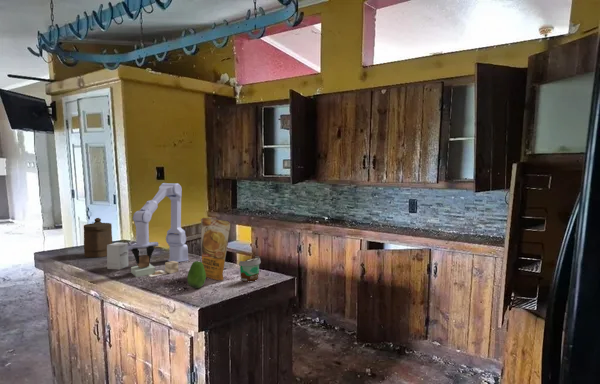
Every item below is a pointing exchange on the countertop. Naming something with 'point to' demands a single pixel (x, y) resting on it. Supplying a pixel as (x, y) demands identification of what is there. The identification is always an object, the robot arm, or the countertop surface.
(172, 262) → the beech block
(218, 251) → the pancake mix bag
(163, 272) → the card
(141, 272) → the plinth
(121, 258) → the supplement box
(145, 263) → the walnut block
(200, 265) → the avocado
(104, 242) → the wooden container
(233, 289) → the countertop surface
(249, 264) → the food container
